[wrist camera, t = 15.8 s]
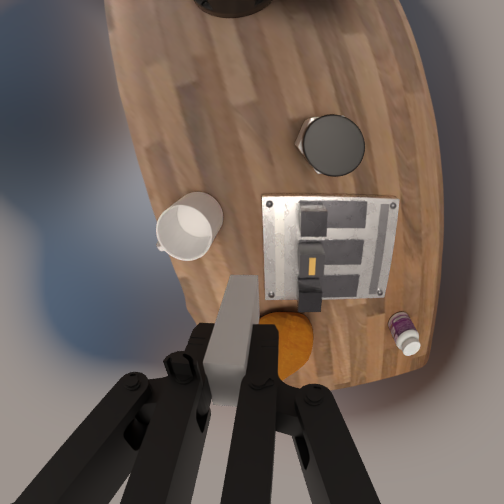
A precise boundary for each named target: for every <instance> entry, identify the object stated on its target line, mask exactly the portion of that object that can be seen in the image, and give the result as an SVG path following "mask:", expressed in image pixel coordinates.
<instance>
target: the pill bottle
mask: <svg viewBox="0 0 504 504" xmlns="http://www.w3.org/2000/svg"><path fill="white" fill-rule="evenodd" d="M388 326H389V329H390V331H391V333H392V336H393V338H394V340H395V343H396V345H397V347H398V348H399V349H401V350H402V351H403V353H404V355H406V356H410V355H413V354H415V353H416V352H417V351H418V350H419V348H420V343H419V340H418V339H419V334H418V332H417V330H416V328H415V327H414V325H413V323H412V321H411V319H410V318H409V316H408V314H407V313H405V312H399V313H396V314H394V315H393V316H392V317H391V318H390V320H389V323H388Z"/></svg>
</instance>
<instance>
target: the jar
mask: <svg viewBox="0 0 504 504" xmlns="http://www.w3.org/2000/svg"><path fill="white" fill-rule="evenodd" d="M295 146H296V147H297V149H298V150H299V151H300V153H301V154H302V155H303V156H304V158H305V159H306V160H307V162H308V163H309V165H310V166H311V167H312V168H313V169H314V170H315V171H316V172H317V173H318V174H324V175H327V176H333V177H337V176H343V175H346V174H349V173H350V172H352V171H353V170H355V169H356V168H357V167H358V165H359V164H360V163H361V161H362V159H363V156H364V152H365V142H364V138H363V135H362V133H361V131H360V129H359V128H358V127H357V125H356V124H355V123H354V122H352V121H351V120H350V119H348V118H346V117H344V116H341V115H334V114H330V115H324V116H321V117H311V118H309V119H307V120H305V121H304V123H303V125H302V127H301V130H300V132H299V134H298V137H297V139H296V141H295Z"/></svg>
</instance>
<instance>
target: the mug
mask: <svg viewBox="0 0 504 504" xmlns="http://www.w3.org/2000/svg"><path fill="white" fill-rule="evenodd" d="M222 223H223V212H222V208H221V206H220V204H219V203H218V202H217V200H216V199H215V198H213V197H212V196H211V195H209V194H207V193H204V192H192V193H188V194H187V195H185V196H183V197H182V198H181V199H179V200H178V201H177V202H175V203H174V204H173V205H172V206H170V207H169V208H168V209H166V210H165V211H164V212H163V213H162V214H161V216H160V217H159V219H158V222H157V226H156V233H157V238H158V242H157V244H156V245H157V247H158V249H159V250H160V251H166V252H167V253H168V254H169V255H171V256H172V257H174V258H176V259H179V260H184V261H191V260H195V259H198V258H200V257H201V256H203V255H204V254H205V253H206V252H207V251H208V249H209V247H210V246H211V244H212V242H213V240H214V239H215V237H216V235H217V233H218V232H219V230H220V228H221V226H222Z"/></svg>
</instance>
